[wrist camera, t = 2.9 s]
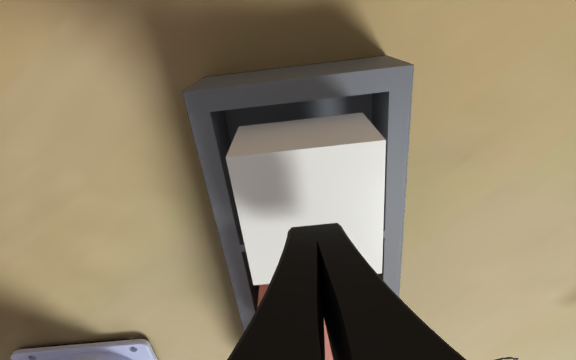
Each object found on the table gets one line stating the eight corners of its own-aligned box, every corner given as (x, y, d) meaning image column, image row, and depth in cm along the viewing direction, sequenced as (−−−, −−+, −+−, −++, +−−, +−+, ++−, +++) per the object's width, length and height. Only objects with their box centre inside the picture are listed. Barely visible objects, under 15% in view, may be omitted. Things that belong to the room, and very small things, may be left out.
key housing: (267, 363, 23) (264, 411, 20) (203, 77, 14) (182, 92, 11) (378, 353, 23) (392, 402, 20) (386, 55, 14) (413, 64, 11)
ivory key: (259, 234, 14) (253, 285, 11) (238, 126, 12) (225, 157, 9) (363, 224, 14) (382, 273, 11) (362, 112, 12) (385, 139, 9)
